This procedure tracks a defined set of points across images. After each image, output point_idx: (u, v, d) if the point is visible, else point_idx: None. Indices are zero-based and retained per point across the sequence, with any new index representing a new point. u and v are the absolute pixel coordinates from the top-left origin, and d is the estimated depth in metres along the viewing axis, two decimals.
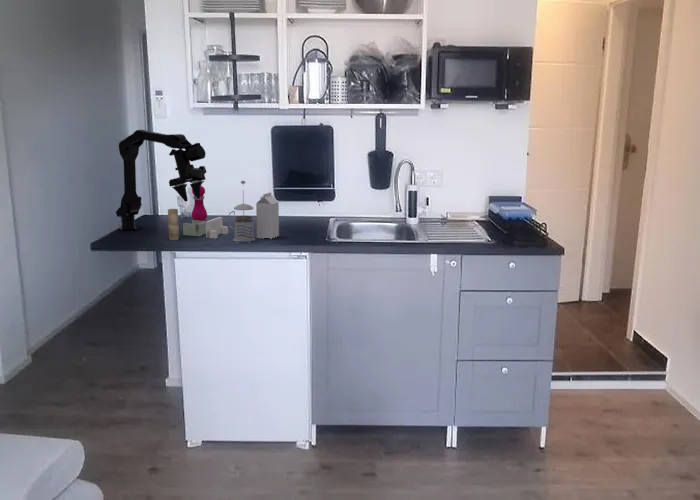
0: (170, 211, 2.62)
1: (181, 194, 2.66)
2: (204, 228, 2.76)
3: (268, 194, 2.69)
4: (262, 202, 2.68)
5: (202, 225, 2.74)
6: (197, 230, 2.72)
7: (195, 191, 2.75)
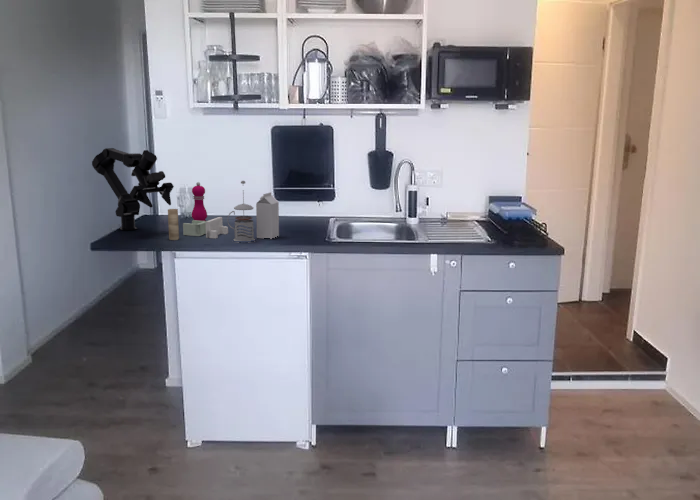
0: (170, 211, 2.62)
1: (145, 203, 2.65)
2: (204, 228, 2.76)
3: (268, 194, 2.69)
4: (262, 202, 2.68)
5: (202, 225, 2.74)
6: (197, 230, 2.72)
7: (166, 199, 2.73)
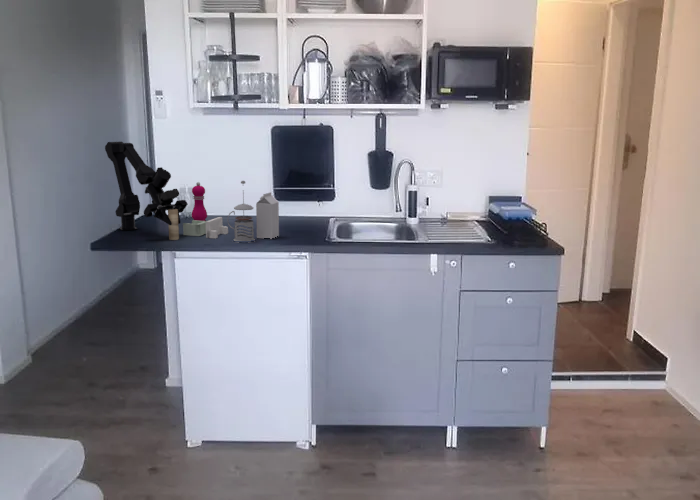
0: (170, 211, 2.62)
1: (164, 220, 2.63)
2: (204, 228, 2.76)
3: (268, 194, 2.69)
4: (262, 202, 2.68)
5: (202, 225, 2.74)
6: (197, 230, 2.72)
7: None
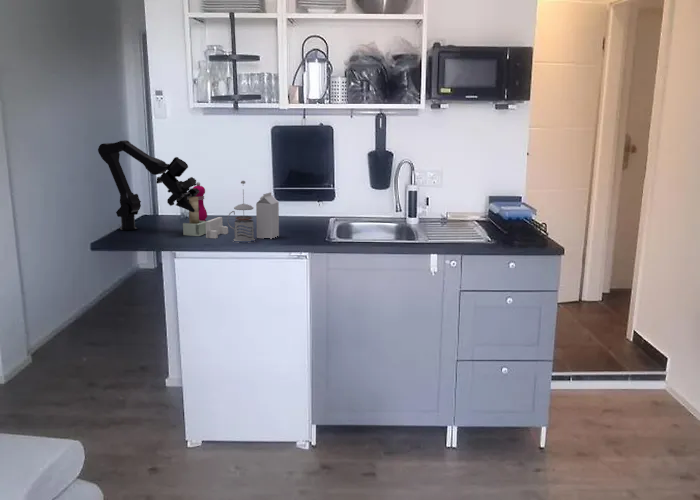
0: (193, 198, 2.72)
1: (186, 208, 2.72)
2: (204, 228, 2.76)
3: (268, 194, 2.69)
4: (262, 202, 2.68)
5: (202, 225, 2.74)
6: (197, 230, 2.72)
7: None
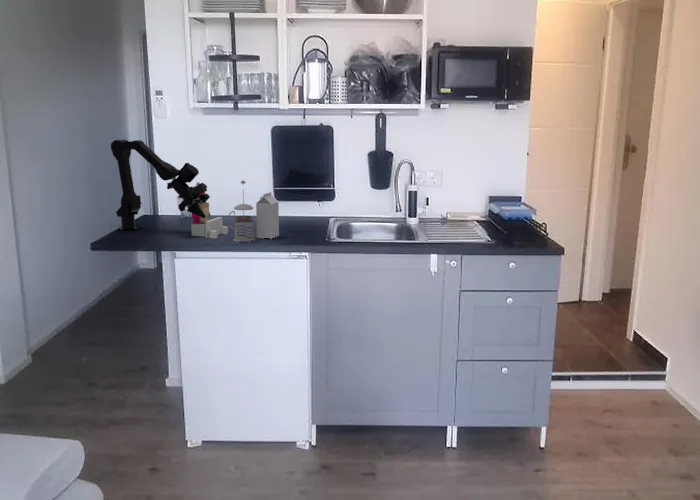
0: (204, 204, 2.71)
1: (197, 214, 2.72)
2: None
3: (268, 194, 2.69)
4: (262, 202, 2.68)
5: None
6: (205, 231, 2.71)
7: None
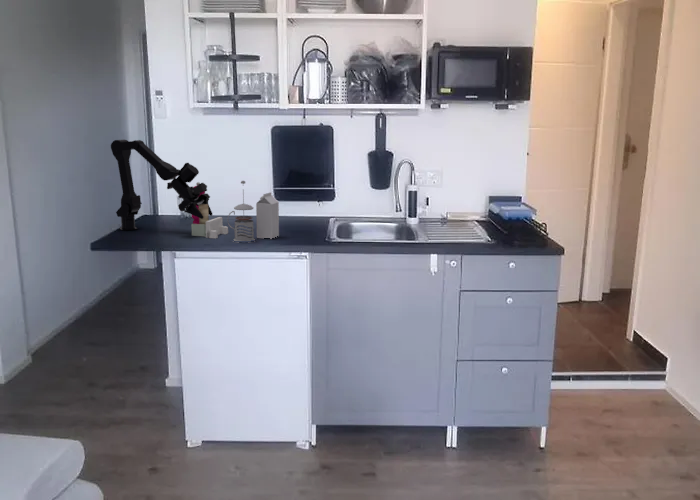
0: (203, 206, 2.72)
1: (195, 214, 2.70)
2: None
3: (268, 194, 2.69)
4: (262, 202, 2.68)
5: None
6: (205, 231, 2.71)
7: None
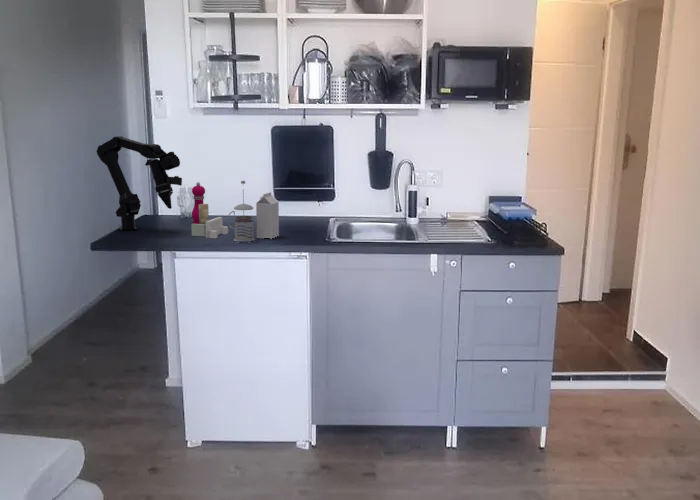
0: (203, 206, 2.72)
1: (164, 201, 2.69)
2: None
3: (268, 194, 2.69)
4: (262, 202, 2.68)
5: None
6: (205, 231, 2.71)
7: None
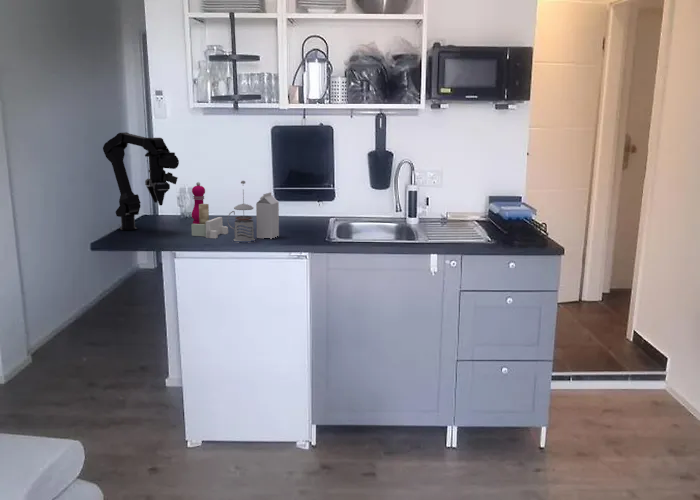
0: (203, 206, 2.72)
1: (158, 198, 2.68)
2: None
3: (268, 194, 2.69)
4: (262, 202, 2.68)
5: None
6: (205, 231, 2.71)
7: (153, 195, 2.77)
